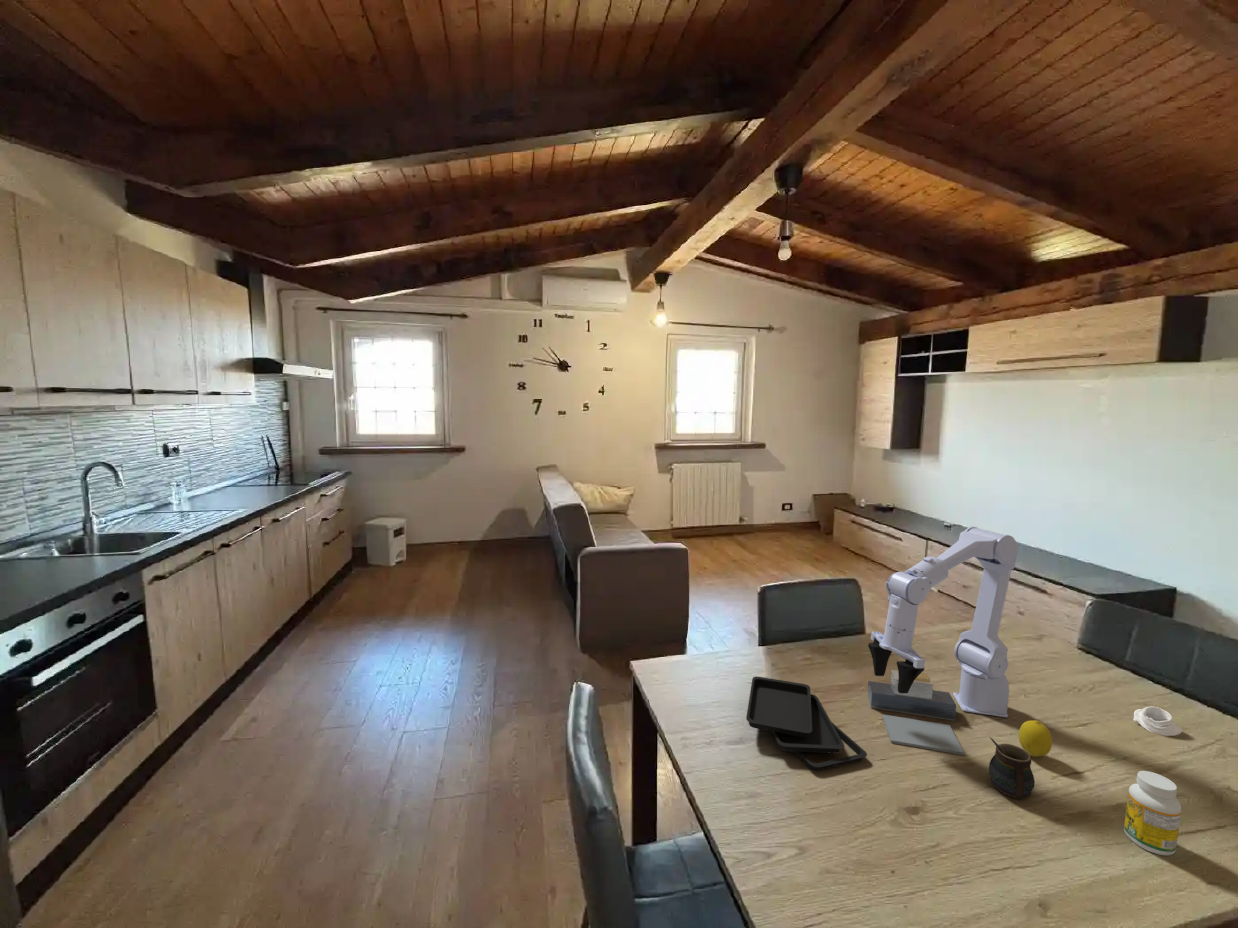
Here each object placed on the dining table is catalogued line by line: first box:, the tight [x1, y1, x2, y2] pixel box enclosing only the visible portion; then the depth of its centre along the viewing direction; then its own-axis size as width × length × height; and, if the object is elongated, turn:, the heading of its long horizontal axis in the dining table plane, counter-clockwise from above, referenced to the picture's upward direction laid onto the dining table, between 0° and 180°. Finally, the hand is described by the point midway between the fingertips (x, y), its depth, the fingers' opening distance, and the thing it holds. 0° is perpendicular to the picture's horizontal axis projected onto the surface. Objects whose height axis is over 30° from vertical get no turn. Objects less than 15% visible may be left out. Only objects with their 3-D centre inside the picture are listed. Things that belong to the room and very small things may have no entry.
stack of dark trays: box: [745, 676, 868, 771], centre depth 120 cm, size 30×23×5 cm
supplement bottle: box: [1123, 770, 1182, 856], centre depth 90 cm, size 6×6×11 cm
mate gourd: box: [988, 736, 1036, 800], centre depth 102 cm, size 7×8×10 cm
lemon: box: [1018, 719, 1053, 758], centre depth 112 cm, size 6×6×8 cm
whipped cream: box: [1132, 705, 1183, 737], centre depth 122 cm, size 8×7×5 cm
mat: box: [882, 714, 965, 756], centre depth 119 cm, size 14×10×1 cm
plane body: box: [866, 680, 957, 722], centre depth 130 cm, size 18×6×4 cm, turn 73°
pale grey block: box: [890, 669, 934, 700], centre depth 129 cm, size 8×5×5 cm, turn 73°
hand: (890, 683), depth 121 cm, fingers open, 7 cm apart
